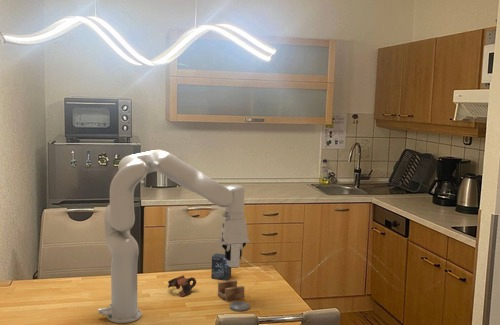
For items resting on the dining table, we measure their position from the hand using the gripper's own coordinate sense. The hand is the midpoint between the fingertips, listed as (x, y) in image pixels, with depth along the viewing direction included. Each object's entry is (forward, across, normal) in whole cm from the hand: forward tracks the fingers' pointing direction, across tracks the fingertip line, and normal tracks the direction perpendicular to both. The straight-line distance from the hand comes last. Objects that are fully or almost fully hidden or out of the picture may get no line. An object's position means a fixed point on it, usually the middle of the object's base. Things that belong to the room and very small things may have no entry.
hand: (233, 258), depth 215 cm
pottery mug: (+17, -17, +14) cm, 28 cm away
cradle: (+17, 0, +3) cm, 17 cm away
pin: (+3, 0, 0) cm, 3 cm away
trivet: (+17, -1, -9) cm, 19 cm away
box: (+17, +5, +25) cm, 30 cm away
